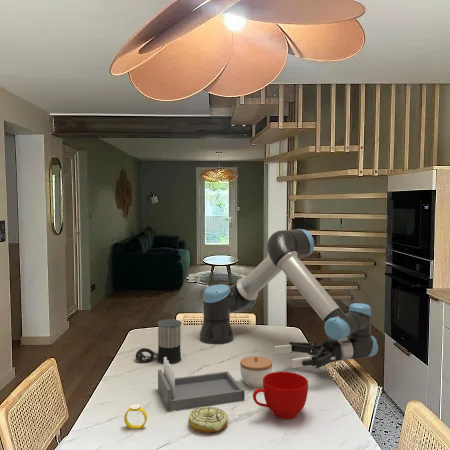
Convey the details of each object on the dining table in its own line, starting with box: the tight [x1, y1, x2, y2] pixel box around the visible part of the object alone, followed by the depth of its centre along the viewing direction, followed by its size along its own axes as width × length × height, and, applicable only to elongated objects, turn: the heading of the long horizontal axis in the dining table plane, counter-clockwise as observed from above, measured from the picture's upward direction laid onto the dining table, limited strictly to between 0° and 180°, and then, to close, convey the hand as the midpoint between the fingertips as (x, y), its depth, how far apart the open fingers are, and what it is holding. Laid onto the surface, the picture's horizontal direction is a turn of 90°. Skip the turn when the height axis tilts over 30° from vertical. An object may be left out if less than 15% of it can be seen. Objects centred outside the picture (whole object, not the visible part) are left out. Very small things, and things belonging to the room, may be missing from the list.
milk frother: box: [134, 318, 182, 365], centre depth 169 cm, size 14×16×15 cm
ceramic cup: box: [252, 371, 309, 420], centre depth 126 cm, size 13×17×10 cm
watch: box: [123, 403, 148, 430], centre depth 119 cm, size 6×3×6 cm, turn 86°
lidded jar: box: [239, 355, 273, 389], centre depth 148 cm, size 11×11×9 cm
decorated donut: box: [187, 406, 229, 434], centre depth 121 cm, size 10×11×4 cm
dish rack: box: [157, 357, 246, 412], centre depth 140 cm, size 16×24×11 cm, turn 109°
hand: (283, 356), depth 151 cm, fingers open, 13 cm apart
